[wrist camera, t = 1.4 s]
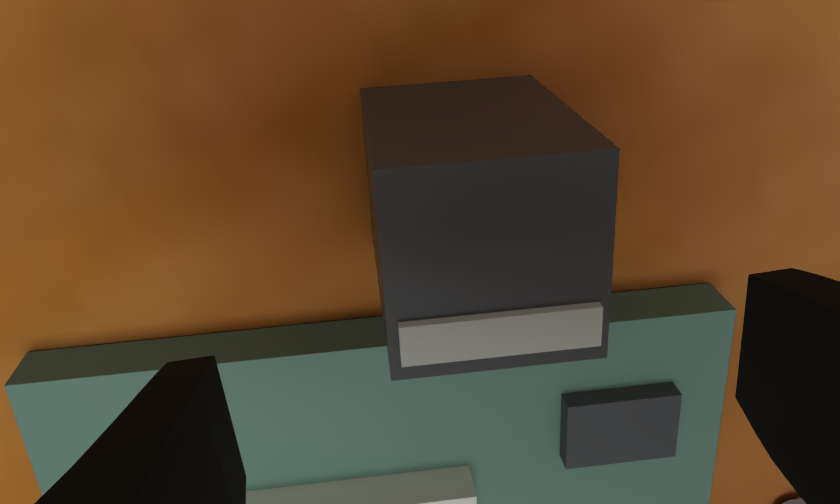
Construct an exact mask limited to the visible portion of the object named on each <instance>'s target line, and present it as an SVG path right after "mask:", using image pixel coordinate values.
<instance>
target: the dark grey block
mask: <svg viewBox="0 0 840 504" xmlns="http://www.w3.org/2000/svg"><path fill="white" fill-rule="evenodd" d="M360 95H361V106H362V118H363V129H364V140H365V151H366V163H367V174H368V185H369V196H370V208H371V219H372V230H373V241H374V251H375V259H376V266H377V274H378V282H379V290H380V298H381V306H382V313H383V321H384V329H385V337H386V345H387V352H388V360H389V368H390V376H391V381H397V380H406V379H415V378H425V377H434V376H443V375H452V374H461V373H471V372H480V371H489V370H498V369H508V368H517V367H526V366H535V365H545V364H554V363H563V362H572V361H582V360H591V359H600V358H607V352H608V335H609V318H610V301H611V284H612V267H613V250H614V234H615V217H616V200H617V183H618V166H619V149H620V148H618V147H617V146H616V145H615V144H613V143H612V142H611V141H610V140H609V139H607V138H606V137H605V136H604V135H602V134H601V133H600V132H599V131H598V130H596V129H595V128H594V127H593V126H591V125H590V124H589V123H588V122H587V121H585V120H584V119H583V118H582V117H581V116H579V115H578V114H577V113H576V112H574V111H573V110H572V109H571V108H570V107H568V106H567V105H566V104H565V103H563V102H562V101H561V100H560V99H559V98H557V97H556V96H555V95H554V94H553V93H551V92H550V91H549V90H548V89H546V88H545V87H544V86H543V85H542V84H540V83H539V82H538V81H537V80H535V79H534V78H533V77H532V76H531V75H528V76H516V77H503V78H490V79H477V80H465V81H452V82H439V83H426V84H414V85H401V86H388V87H375V88H363V89H360Z"/></svg>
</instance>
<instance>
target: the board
mask: <svg viewBox="0 0 840 504" xmlns="http://www.w3.org/2000/svg"><path fill="white" fill-rule="evenodd" d="M735 317H736V309H735V308H734V307H733V306H732V305H731V304H730V303H729V302H728V301H727V300H726V299H725V298H724V297H723V296H722V295H721V294H720V293H719V292H718V291H717V290H716V289H715V288H714V287H713V286H712V285H711V284H710V283H705V284H695V285H685V286H675V287H666V288H656V289H646V290H636V291H626V292H616V293H611V301H610V318H609V335H608V352H607V358H600V359H591V360H582V361H572V362H563V363H554V364H545V365H535V366H526V367H517V368H508V369H498V370H489V371H480V372H471V373H461V374H452V375H443V376H434V377H425V378H415V379H406V380H397V381H391V376H390V368H389V360H388V352H387V345H386V337H385V329H384V321H383V316H379V317H369V318H359V319H349V320H340V321H330V322H320V323H310V324H300V325H290V326H280V327H270V328H261V329H251V330H241V331H231V332H221V333H211V334H201V335H191V336H181V337H172V338H162V339H152V340H142V341H132V342H122V343H112V344H102V345H93V346H83V347H73V348H63V349H53V350H43V351H33V352H27V354H26V355H25V357H24V358H23V359H22V361H21V362H20V364H19V365H18V367H17V368H16V370H15V371H14V372H13V374H12V375H11V377H10V378H9V380H8V381H7V383H6V384H5V386H4V387H5V390H6V392H7V395H8V398H9V401H10V404H11V407H12V410H13V413H14V416H15V418H16V421H17V424H18V427H19V430H20V433H21V436H22V439H23V442H24V444H25V447H26V450H27V453H28V456H29V459H30V462H31V465H32V468H33V470H34V473H35V476H36V479H37V482H38V485H39V488H40V491H41V493H42V496H43V495H44V494H45V493H46V492H47V491H48V490H49V489H50V488H51V487H52V486H53V485H54V484H55V483H56V482H57V481H58V480H59V479H60V478H61V477H62V476H63V475H64V474H65V473H66V472H67V471H68V470H69V469H70V468H71V467H72V466H73V465H74V464H75V463H76V462H77V460H78V459H79V458H80V457H81V456H82V455H83V454H84V453H85V452H86V451H87V450H88V448H89V447H90V446H91V445H92V444H93V443H94V442H95V441H96V440H97V439H98V438H99V436H100V435H101V434H102V433H103V432H104V431H105V430H106V429H107V428H108V427H109V426H110V424H111V423H112V422H113V421H114V420H115V419H116V418H117V417H118V416H119V414H120V413H121V412H122V411H123V410H124V409H125V408H126V407H127V405H128V404H129V403H130V402H131V401H132V400H133V399H134V398H135V396H136V395H137V394H138V393H139V392H140V391H141V390H142V389H143V387H144V386H145V385H146V384H147V383H148V382H149V381H150V380H151V379H152V377H153V376H154V375H155V374H156V373H157V372H158V371H159V370H160V369H161V368H162V367H163V366H164V365H165V364H166V363H167V362H172V361H179V360H185V359H192V358H199V357H205V356H212V355H215V359H216V363H217V366H218V370H219V374H220V378H221V382H222V385H223V389H224V393H225V397H226V401H227V405H228V408H229V412H230V416H231V420H232V424H233V428H234V431H235V435H236V439H237V443H238V447H239V450H240V454H241V458H242V462H243V466H244V470H245V473H246V504H709V502H710V494H711V487H712V480H713V473H714V466H715V459H716V452H717V445H718V437H719V430H720V423H721V416H722V409H723V402H724V395H725V388H726V381H727V373H728V366H729V359H730V352H731V345H732V338H733V331H734V324H735Z"/></svg>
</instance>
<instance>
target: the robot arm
mask: <svg viewBox="0 0 840 504" xmlns="http://www.w3.org/2000/svg"><path fill="white" fill-rule="evenodd" d="M735 397H736V399H737V401H738V403H739V404H740V406H741V408H742V410H743V412H744V413H745V415H746V417H747V419H748V420H749V422H750V424H751V426H752V428H753V429H754V431H755V433H756V434H757V436H758V438H759V439H760V441H761V443H762V444H763V446H764V447H765V449H766V451H767V452H768V454H769V456H770V457H771V459H772V460H773V462H774V463H775V464H776V465H777V467H778V468H779V469H780V471H781V472H782V473H783V475H784V476H785V477H786V479H787V480H788V481H789V482H790V484H791V485H792V486H793V488H794V489H795V490H796V491H797V493H798V494H799V495H800V497H801V499H793V500H788V501H785V502H784V503H782V504H840V282H839V281H836V280H833V279H830V278H826V277H823V276H820V275H817V274H813V273H810V272H806V271H802V270H798V269H793V268H790V269H783V270H776V271H770V272H763V273H756V274H750V275H749V277H748V286H747V296H746V305H745V314H744V323H743V332H742V341H741V350H740V360H739V369H738V378H737V387H736V396H735ZM35 504H246V473H245V470H244V466H243V462H242V458H241V454H240V450H239V447H238V443H237V439H236V435H235V431H234V428H233V424H232V420H231V416H230V412H229V408H228V405H227V401H226V397H225V393H224V389H223V385H222V382H221V378H220V374H219V370H218V366H217V363H216V359H215V355H212V356H205V357H199V358H192V359H185V360H179V361H172V362H167V363H166V364H165V365H164V366H163V367H162V368H161V369H160V370H159V371H158V372H157V373H156V374H155V375H154V376H153V377H152V379H151V380H150V381H149V382H148V383H147V384H146V385H145V386H144V387H143V389H142V390H141V391H140V392H139V393H138V394H137V395H136V396H135V398H134V399H133V400H132V401H131V402H130V403H129V404H128V405H127V407H126V408H125V409H124V410H123V411H122V412H121V413H120V414H119V416H118V417H117V418H116V419H115V420H114V421H113V422H112V423H111V424H110V426H109V427H108V428H107V429H106V430H105V431H104V432H103V433H102V434H101V435H100V436H99V438H98V439H97V440H96V441H95V442H94V443H93V444H92V445H91V446H90V447H89V448H88V450H87V451H86V452H85V453H84V454H83V455H82V456H81V457H80V458H79V459H78V460H77V462H76V463H75V464H74V465H73V466H72V467H71V468H70V469H69V470H68V471H67V472H66V473H65V474H64V475H63V476H62V477H61V478H60V479H59V480H58V481H57V482H56V483H55V484H54V485H53V486H52V487H51V488H50V489H49V490H48V491H47V492H46V493H45V494H44V495H43V496H42V497H41V498H40V499H39V500H38V501H37V502H36V503H35Z"/></svg>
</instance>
